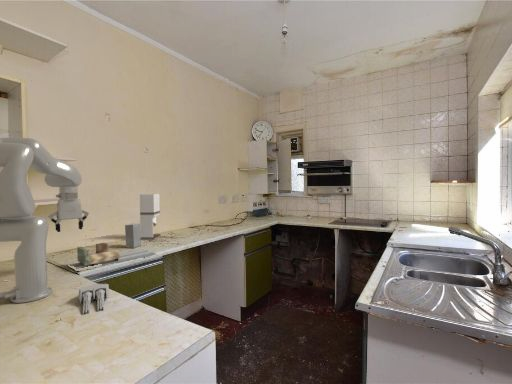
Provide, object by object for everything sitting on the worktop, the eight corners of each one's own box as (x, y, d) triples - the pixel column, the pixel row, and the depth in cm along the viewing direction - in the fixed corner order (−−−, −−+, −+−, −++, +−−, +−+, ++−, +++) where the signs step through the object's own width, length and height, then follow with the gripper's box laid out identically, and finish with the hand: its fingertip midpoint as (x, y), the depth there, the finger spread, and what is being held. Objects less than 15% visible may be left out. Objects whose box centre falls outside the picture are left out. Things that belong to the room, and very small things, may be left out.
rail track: (76, 272, 131) (76, 269, 131) (67, 265, 142) (66, 263, 142) (156, 254, 163) (156, 252, 163) (143, 250, 174) (143, 248, 174)
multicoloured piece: (85, 268, 136) (84, 251, 136) (77, 263, 144) (77, 247, 143) (120, 260, 149) (120, 244, 149) (112, 256, 157) (111, 241, 157)
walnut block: (99, 256, 158) (98, 245, 158) (96, 255, 162) (95, 244, 161) (108, 255, 162) (107, 243, 162) (104, 253, 166) (104, 242, 165)
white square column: (154, 240, 203) (153, 194, 202) (140, 240, 203) (139, 194, 202) (160, 236, 215) (159, 193, 213) (147, 236, 215) (146, 193, 213)
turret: (76, 322, 89) (75, 310, 88) (80, 292, 106) (79, 281, 105) (110, 315, 94) (109, 303, 93) (108, 287, 111) (108, 277, 110)
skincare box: (134, 248, 178) (133, 225, 177) (124, 248, 179) (124, 224, 179) (141, 245, 186) (141, 223, 185) (132, 245, 187) (132, 222, 187)
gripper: (49, 197, 126) (50, 233, 126) (90, 196, 139) (91, 228, 140) (45, 197, 131) (46, 231, 131) (85, 195, 144) (86, 227, 144)
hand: (69, 230), depth 135 cm, fingers open, 9 cm apart
